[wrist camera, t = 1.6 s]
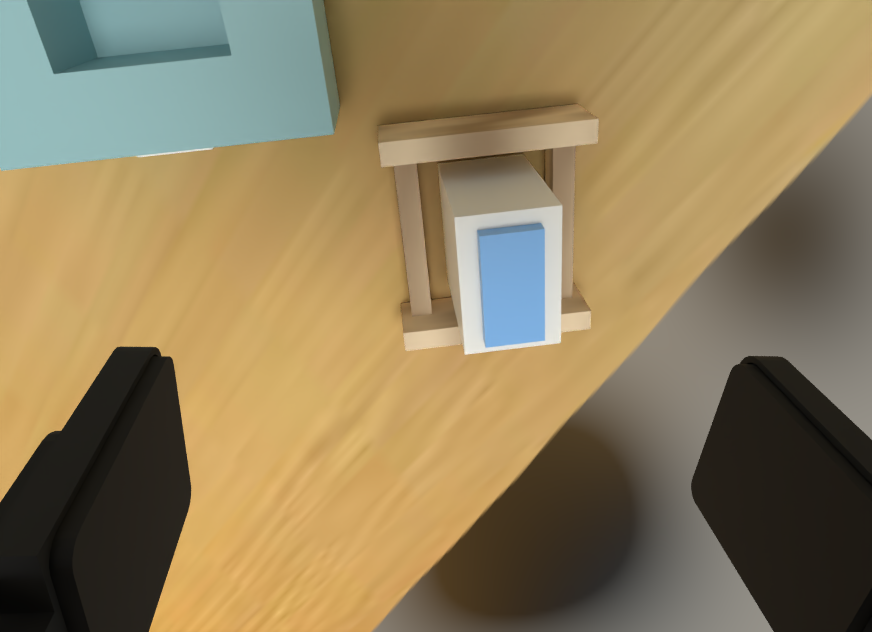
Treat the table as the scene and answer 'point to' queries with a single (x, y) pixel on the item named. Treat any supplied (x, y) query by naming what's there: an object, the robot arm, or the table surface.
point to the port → (159, 77)
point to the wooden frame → (477, 138)
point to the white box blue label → (502, 252)
